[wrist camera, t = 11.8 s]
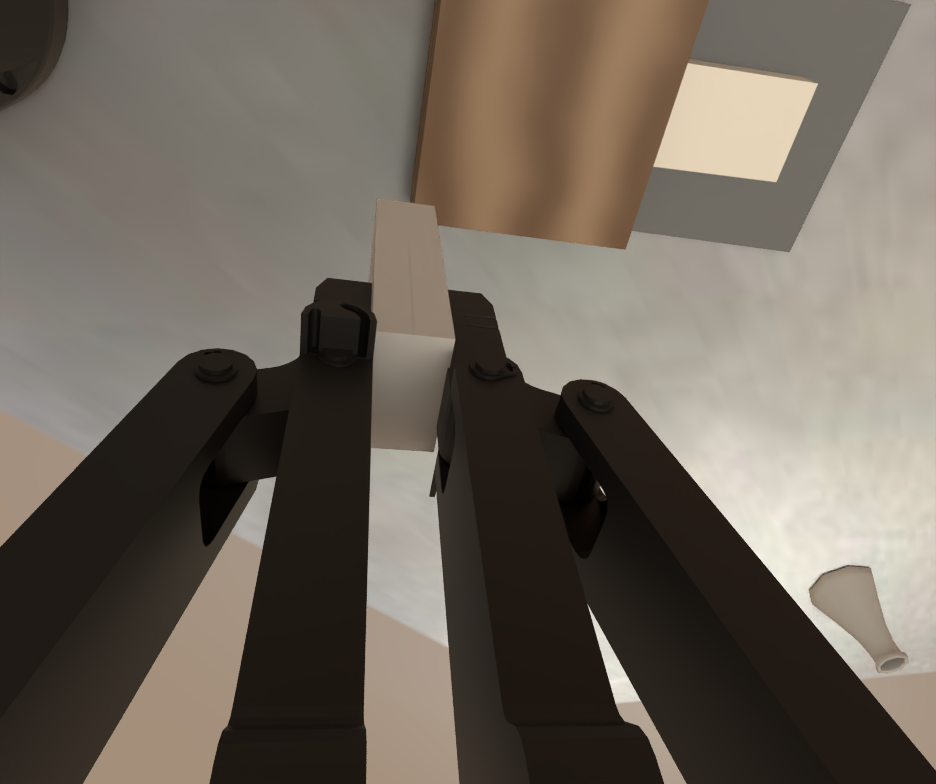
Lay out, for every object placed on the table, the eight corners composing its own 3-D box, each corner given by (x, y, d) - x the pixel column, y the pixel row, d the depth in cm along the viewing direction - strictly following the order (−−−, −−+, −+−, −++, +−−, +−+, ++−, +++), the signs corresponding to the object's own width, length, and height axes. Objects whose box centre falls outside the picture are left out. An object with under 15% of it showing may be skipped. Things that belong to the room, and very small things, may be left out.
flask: (815, 568, 73) (868, 650, 65) (879, 559, 73) (939, 639, 65) (801, 607, 77) (849, 688, 69) (862, 598, 78) (916, 678, 70)
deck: (410, 198, 44) (412, 221, 40) (447, -98, 34) (453, -98, 31) (608, 225, 46) (625, 249, 43) (693, -44, 37) (721, -39, 34)
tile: (637, 155, 43) (646, 165, 41) (666, 55, 40) (678, 61, 38) (762, 172, 45) (776, 182, 43) (801, 76, 41) (818, 83, 39)
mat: (608, 225, 46) (610, 227, 46) (693, -44, 37) (695, -43, 37) (786, 249, 49) (789, 252, 48) (906, 3, 40) (910, 4, 39)
